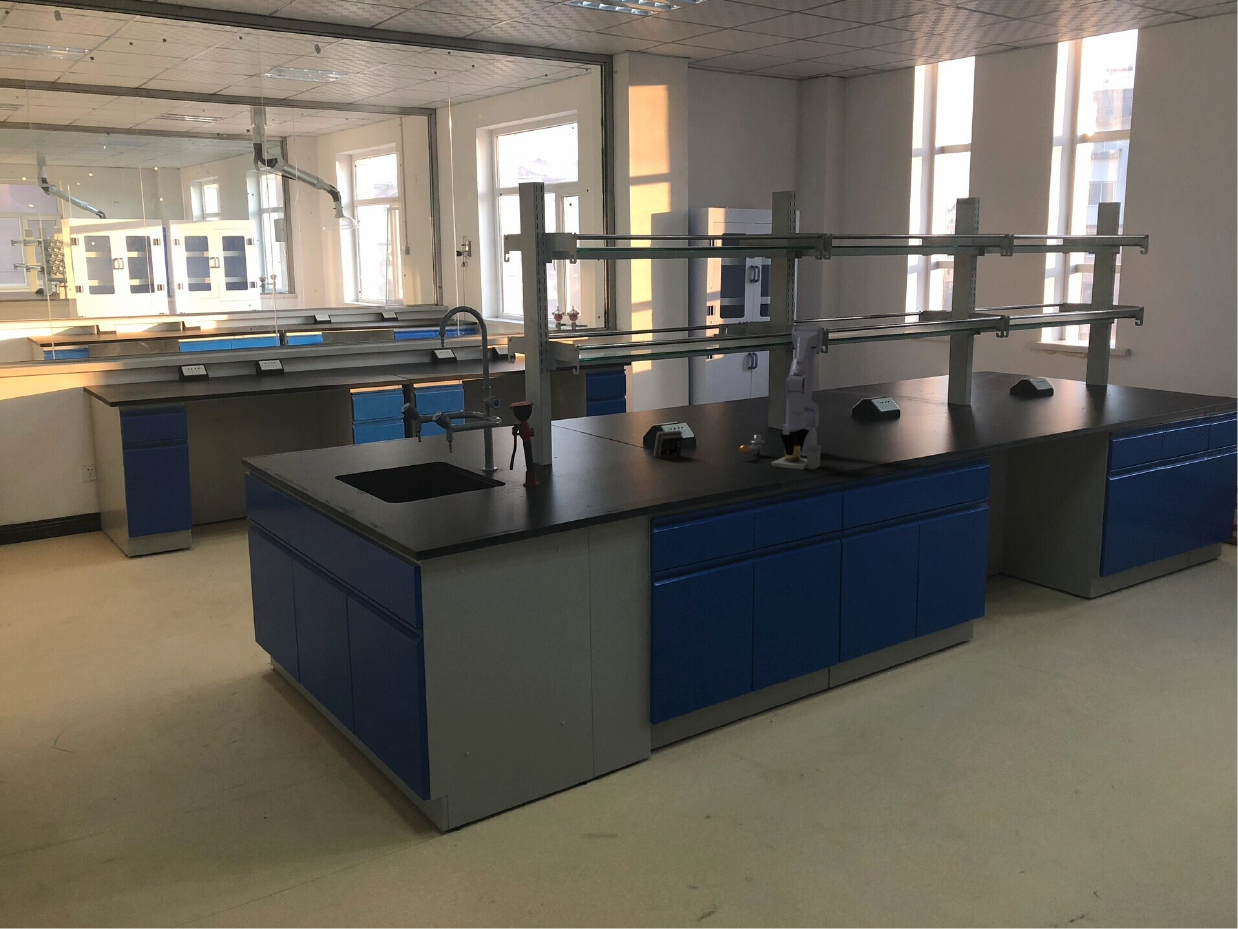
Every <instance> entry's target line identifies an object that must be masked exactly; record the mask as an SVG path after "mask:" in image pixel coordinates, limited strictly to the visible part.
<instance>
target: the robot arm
mask: <svg viewBox="0 0 1238 929" xmlns="http://www.w3.org/2000/svg"><path fill="white" fill-rule="evenodd" d="M823 332H824V330H823V327H822V326H821V325H820V326H819V325H818V326H809V325H807V326H804V325H800V326H798V325H794V326H793V327H792V330H791V342H792V346H793V348H794V350H795V351H796V354H795V356H796V357H795V358H794V359H793V360H792V361H791V365H790V368H789V369H790V370H789V375H788V376H786V380H785V385H784V386H785V397H786V420H785V421H786V422H785V424H782V427H783V428H782V432H780V433H779V435H780V436H779V437H780V438H781V441H782V442H783V445H784V452H785V451H786V455H793V452H794V445H795V444H797V445H800V456H803V457H807V447H808V446H810V445H818V431H816V428H817V427H819V420H820V418H819V417H820V412H819V410H820V409H819V406H818V404H817V403H815V402H814V401H813V400H812V397H813V395H812V394H813V383H814V380H813V379H814V365H815V357H816V354H817V353H819V352H821V351H822V348H823V337H824V335H823V334H824V333H823Z"/></svg>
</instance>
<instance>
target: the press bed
mask: <svg viewBox="0 0 1238 929" xmlns="http://www.w3.org/2000/svg"><path fill="white" fill-rule="evenodd" d="M821 452H822V445H819V444H817V445H810V446H808V447H807V456H806V458H801V457H800V461H798V462H788V461H785V456H783V457H780V458H778V459H776V460H774V461H771V462H770V464H771V467H779V468H787V469H794V470H802V471H803V470H805V469H811V470H815V469H817V468H819V467H820V466H821Z"/></svg>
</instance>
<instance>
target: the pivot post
mask: <svg viewBox="0 0 1238 929" xmlns="http://www.w3.org/2000/svg"><path fill="white" fill-rule="evenodd" d="M749 443H750V444H751V445H752V444H756V445H757V448H756V449H754V450H753V456H755V457H761V455H762V454H761V453H762V445H763V444H765V443H766V441H765V440H763V439H762V434H753V439H750V442H749Z"/></svg>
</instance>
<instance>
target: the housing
mask: <svg viewBox="0 0 1238 929" xmlns="http://www.w3.org/2000/svg"><path fill="white" fill-rule="evenodd" d="M784 457H785V461H788V462H798V461H800V458H801V455H800V445H797V444H795V445H794V452H793V455H786V451H785V450H784Z"/></svg>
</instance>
